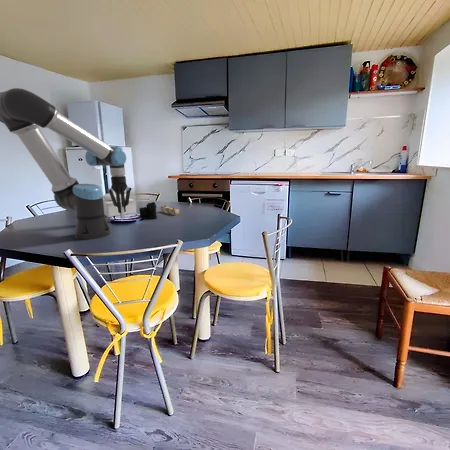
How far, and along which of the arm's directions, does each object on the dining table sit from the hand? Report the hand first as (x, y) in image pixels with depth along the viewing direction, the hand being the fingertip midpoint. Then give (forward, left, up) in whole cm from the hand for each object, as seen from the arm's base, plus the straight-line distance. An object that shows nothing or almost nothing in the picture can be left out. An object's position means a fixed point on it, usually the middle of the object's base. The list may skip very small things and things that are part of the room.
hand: (122, 218), depth 159 cm
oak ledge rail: (0, -30, -2) cm, 30 cm away
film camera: (-1, -15, -2) cm, 15 cm away
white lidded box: (+25, -7, -2) cm, 26 cm away
